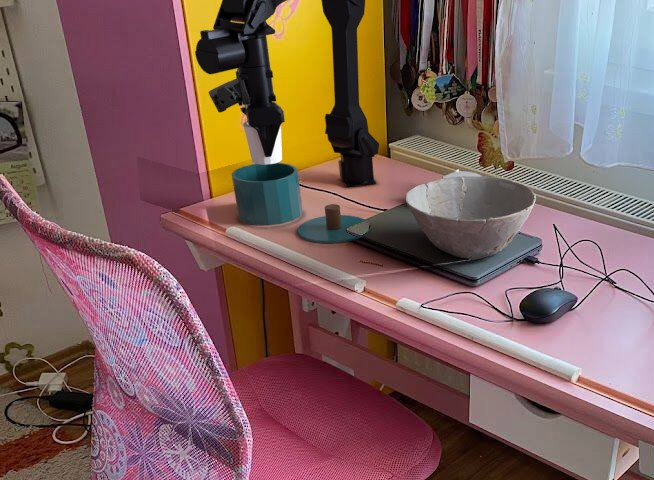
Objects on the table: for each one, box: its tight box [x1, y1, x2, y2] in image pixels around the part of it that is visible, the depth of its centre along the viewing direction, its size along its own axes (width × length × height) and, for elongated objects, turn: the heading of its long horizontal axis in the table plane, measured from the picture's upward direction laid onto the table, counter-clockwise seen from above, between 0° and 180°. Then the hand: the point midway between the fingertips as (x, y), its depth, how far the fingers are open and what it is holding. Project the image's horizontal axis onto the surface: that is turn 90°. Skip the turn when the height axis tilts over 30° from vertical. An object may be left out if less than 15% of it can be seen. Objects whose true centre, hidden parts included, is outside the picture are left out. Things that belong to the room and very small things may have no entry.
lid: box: [297, 203, 371, 244], centre depth 159 cm, size 13×13×5 cm
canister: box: [231, 162, 304, 227], centre depth 166 cm, size 12×12×9 cm
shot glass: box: [242, 120, 283, 165], centre depth 161 cm, size 7×7×7 cm
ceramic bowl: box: [405, 175, 537, 261], centre depth 150 cm, size 22×23×10 cm
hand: (265, 152), depth 162 cm, fingers closed on shot glass, 6 cm apart
